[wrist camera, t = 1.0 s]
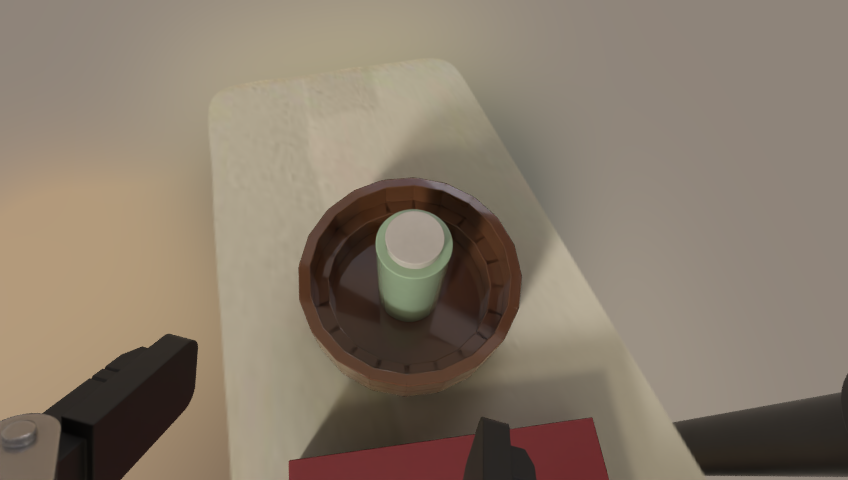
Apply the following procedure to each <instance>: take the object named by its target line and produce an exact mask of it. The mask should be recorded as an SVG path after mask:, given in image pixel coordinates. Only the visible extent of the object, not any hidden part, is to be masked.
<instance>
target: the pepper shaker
mask: <svg viewBox="0 0 848 480" xmlns="http://www.w3.org/2000/svg"><path fill="white" fill-rule="evenodd" d="M375 243H376V261H377V276H378V292H379V300H380V303H381V305H382V307H383V308H384V310H385V311H386V312H387V313H388V314H389V315H390V316H392V317H393V318H395V319H397V320H400V321H404V322H415V321H419V320H422V319H424V318H426V317H427V316H429V315H430V314H431V313H432V312H433V311H434V309H435V308H436V306H437V304H438V301H439V297H440V294H441V290H442V287H443V283H444V280H445V276H446V272H447V269H448V265H449V262H450V258H451V255H452V250H453V240H452V236H451V233H450V231H449V229H448V227H447V226H446V224H445V223H444V222H443V221H442V220H441V219H440V218H438V217H437V216H435V215H434V214H432V213H430V212H427V211H424V210H418V209H409V210H403V211H400V212H397V213H395V214H393V215H392V216H390V217H389V218H388V219H386V220H385V221H384V223H383V224H382V225H381V227H380V228H379V230H378V233H377V236H376V242H375Z"/></svg>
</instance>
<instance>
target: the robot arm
mask: <svg viewBox="0 0 848 480" xmlns="http://www.w3.org/2000/svg"><path fill="white" fill-rule="evenodd" d="M197 352H198V344H197V342H196V341H195V340H191V339H187V338H183V337H180V336H176V335H172V334H166V335H165V336H163V337H162V338H161V339H159V340H158V341H157V342H155V343H154V344H153V345H152V346H150V347H149V348H146V347H140V348H137V349H135V350H132V351H130V352H127V353H125V354H122V355H120V356H119V357H118V358H116V359H115V360H114V361H112V362H111V363H110V364H108V365H107V366H106V367H105V369H102V370H100V371H99V372H97V373H96V374H95V375H93V377H92V379H88V380H87V381H85V382H84V383H83V384H81V385H80V386H79V387H77V388H76V389H75V390H73V391H72V392H70V393H69V394H68V395H66V396H65V397H64V398H62V399H61V400H60V401H58V402H57V403H56V404H54V405H53V406H52V407H50V408H49V409H48V410H46V411H45V412H44V413H42V414H40V413H29V414H22V415H17V416H13V417H10V418H7V419H4V420H2V421H0V480H121V479H122V478H123V477H124V475H125V474H126V473H127V472H128V471H129V470H130V469H131V468H132V467H133V466H134V465H135V463H136V462H137V461H138V460H139V459H140V458H141V457H142V456H143V455H144V454H145V453H146V452H147V450H148V449H149V448H150V447H151V446H152V445H153V444H154V443H155V442H156V441H157V440H158V438H159V437H160V436H161V435H162V434H163V433H164V432H165V431H166V430H167V429H168V428H169V427H170V425H171V424H172V423H173V422H174V421H175V420H176V419H177V418H178V417H179V416H180V415H181V413H182V412H183V411H184V410H185V409H186V407H187V406H188V404H189V402H190V401H191V398H192V396H193V393H194V389H195V380H196V366H197ZM463 480H537V479H536V472H535V466H534V464H533V462H532V460H531V459H530V457H529V455H528V453H527V452H526V450H525V449H523V448H519V447H515V446H511V440H510V428H509V424H507V423H503V422H499V421H495V420H491V419H488V418H484V417H481V419H480V421H479V424H478V427H477V430H476V434H475V437H474V440H473V443H472V446H471V450H470V453H469V456H468V459H467V462H466V466H465V471H464V477H463Z"/></svg>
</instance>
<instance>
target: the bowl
mask: <svg viewBox="0 0 848 480" xmlns="http://www.w3.org/2000/svg"><path fill="white" fill-rule="evenodd" d="M409 209H418V210H424V211H427V212H430V213H432V214H434V215H435V216H437V217H438V218H440V219H441V220H442V221H443V222H444V223H445V224H446V226H447V227H448V229H449V231H450V233H451V236H452V240H453V250H452V255H451V258H450V262H449V265H448V269H447V272H446V276H445V280H444V283H443V287H442V290H441V294H440V297H439V301H438V304H437V306H436V308H435V309H434V311H433V312H432V313H431V314H430V315H429V316H427V317H426V318H424V319H422V320H419V321H415V322H404V321H400V320H397V319H395V318H393V317H392V316H390V315H389V314H388V313H387V312H386V311H385V310H384V308H383V307H382V305H381V303H380V300H379V292H378V276H377V261H376V243H375V242H376V236H377V233H378V230H379V228H380V227H381V225H382V224H383V223H384V221H385V220H386V219H388V218H389V217H390V216H392V215H393V214H395V213H397V212H400V211H403V210H409ZM521 280H522V275H521V271H520V266H519V262H518V258H517V254H516V249H515V246H514V244H513V242H512V240H511V239H510V237H509V235H508V234H507V232H506V230H505V229H504V227H503V225H502V224H501V222H500V221H499V219H498V218H497V217H496V216H495V215H494V214H493V213H492V212H491V211H489V210H488V209H487V208H486V207H485V206H484V205H483V204H482V203H481V202H479V201H478V200H477V199H476V198H475V197H473V196H471V195H469V194H467V193H465V192H463V191H461V190H459V189H457V188H455V187H453V186H451V185H449V184H446V183H442V182H436V181H431V180H426V179H421V178H401V179H389V180H384V181H383V180H381V181H378V182H376V183H373V184H370V185H368V186H365V187H362V188H359V189H357V190H354V191H352V192H351V193H350V194H348V195H347V196H346V197H344V198H343V199H342V200H340V201H339V202H337V203H336V204H335V205H333V206H332V207H331V208H329V209H328V210H327V211H326V213H325V214H324V215H323V217H322V218H321V219H320V221H319V222H318V223H317V225H316V226H315V228H314V229H313V230H312V232H311V233H310V234H309V236H308V239H307V242H306V245H305V248H304V251H303V254H302V257H301V260H300V264H299V300H300V303H301V306H302V308H303V311H304V313H305V316H306V319H307V321H308V324H309V326H310V329H311V331H312V333H313V335H314V337H315V339H316V341H317V342H318V344H319V346H320V348H321V349H322V350H323V351H324V353H325V354H326V355H327V356H328V357H329V358H330V360H331V361H332V362H333V363H334V364H335V365H336V367H337V368H338V369H339V370H340V371H341V372H342V373H343V374H345V375H346V376H348V377H350V378H351V379H353V380H355V381H357V382H358V383H360V384H362V385H364V386H365V387H367V388H369V389H370V390H371V389H372V390H374V391H379V392H384V393H389V394H394V395H399V396H404V397H407V396H415V395H423V394H430V393H438V392H441V391H443V390H445V389H447V388H449V387H451V386H453V385H455V384H457V383H459V382H461V381H463V380H465V379H467V378H468V377H470V376H471V375H472V374H473V373H474V372H475V371H476V370H477V369H478V368H479V367H480V366H481V365H482V364H483V363H484V362H485V361H486V360H487V359H488V358H489V357H490V356H491V355H492V354H493V352H494V351H495V350H496V349H497V348H498V347H499V345H500V344H501V343H502V342H503V340H504V339H505V337H506V335H507V333H508V331H509V329H510V327H511V324H512V322H513V320H514V318H515V316H516V314H517V312H518V309H519V301H520V291H521Z"/></svg>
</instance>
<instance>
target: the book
mask: <svg viewBox="0 0 848 480" xmlns="http://www.w3.org/2000/svg"><path fill="white" fill-rule="evenodd" d="M474 437H475V434H471V435H464V436H457V437H450V438H443V439H436V440H429V441H422V442H415V443H408V444H401V445H394V446H387V447H380V448H373V449H366V450H359V451H352V452H345V453H338V454H331V455H324V456H317V457H310V458H303V459H296V460H290V461H289V480H463V477H464V471H465V466H466V462H467V459H468V456H469V453H470V450H471V446H472V443H473V440H474ZM510 440H511V446H515V447H519V448H523V449H525V450H526V452H527V453H528V455H529V457H530V459H531V460H532V462H533V464H534V466H535V472H536V479H537V480H609V478H608V474H607V470H606V467H605V463H604V459H603V455H602V452H601V448H600V444H599V441H598V437H597V433H596V429H595V426H594V422H593V418H584V419H577V420H570V421H563V422H556V423H549V424H542V425H535V426H528V427H521V428H514V429H510Z"/></svg>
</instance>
